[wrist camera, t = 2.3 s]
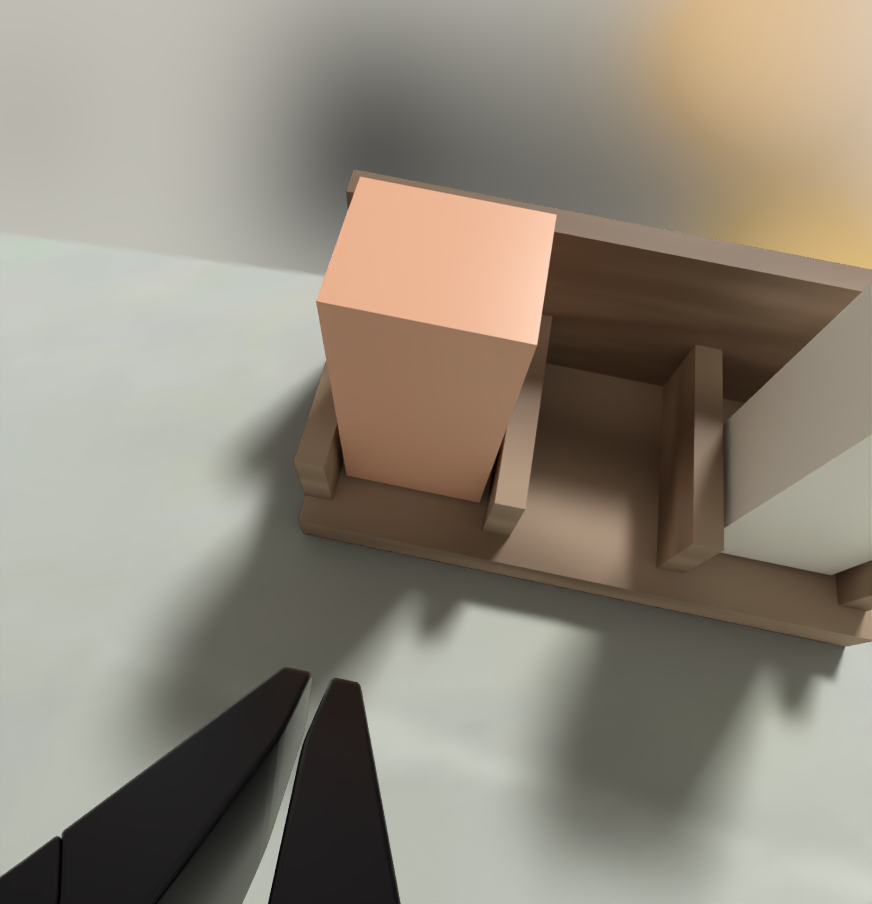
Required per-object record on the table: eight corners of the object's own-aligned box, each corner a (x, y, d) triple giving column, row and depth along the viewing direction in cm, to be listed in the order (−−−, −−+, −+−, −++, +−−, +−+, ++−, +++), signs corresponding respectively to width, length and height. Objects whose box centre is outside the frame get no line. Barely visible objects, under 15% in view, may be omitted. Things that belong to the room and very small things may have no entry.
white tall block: (830, 575, 22) (1130, 463, 13) (694, 547, 22) (899, 417, 13) (822, 475, 24) (1082, 316, 15) (695, 450, 24) (877, 276, 15)
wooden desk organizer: (846, 646, 23) (1074, 599, 15) (303, 533, 23) (259, 432, 16) (825, 420, 27) (996, 293, 19) (364, 328, 28) (353, 169, 20)
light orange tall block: (479, 502, 23) (537, 344, 14) (346, 475, 23) (316, 301, 14) (495, 409, 24) (556, 214, 15) (372, 384, 24) (360, 176, 15)
